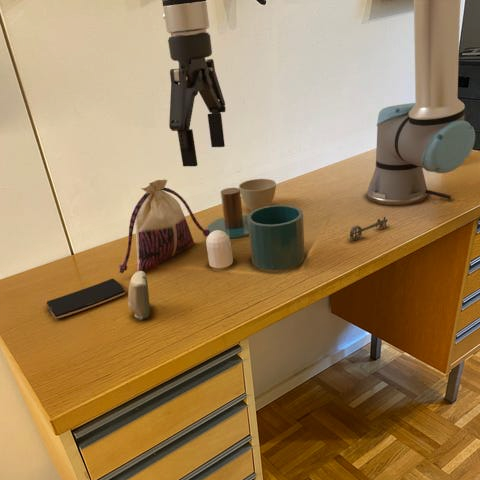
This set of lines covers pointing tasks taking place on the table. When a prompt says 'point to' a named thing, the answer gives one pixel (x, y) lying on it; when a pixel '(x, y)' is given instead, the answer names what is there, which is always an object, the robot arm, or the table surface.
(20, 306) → the table surface
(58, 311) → the smartphone
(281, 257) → the pot
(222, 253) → the capsule
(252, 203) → the flower pot
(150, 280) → the table surface
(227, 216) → the lid
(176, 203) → the pouch
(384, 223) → the key
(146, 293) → the cream tapered case
